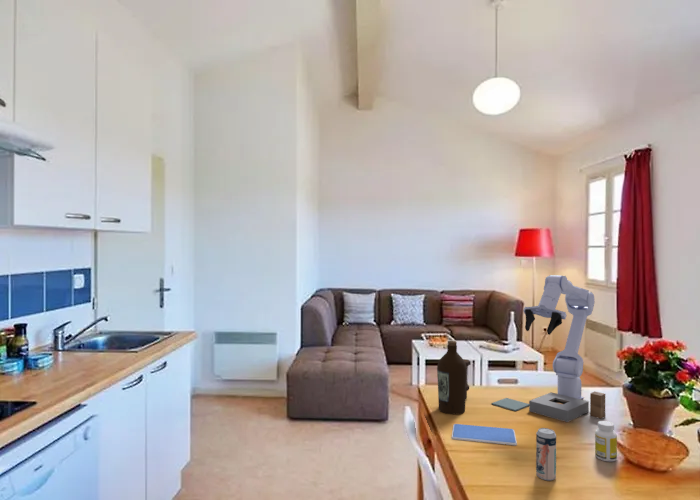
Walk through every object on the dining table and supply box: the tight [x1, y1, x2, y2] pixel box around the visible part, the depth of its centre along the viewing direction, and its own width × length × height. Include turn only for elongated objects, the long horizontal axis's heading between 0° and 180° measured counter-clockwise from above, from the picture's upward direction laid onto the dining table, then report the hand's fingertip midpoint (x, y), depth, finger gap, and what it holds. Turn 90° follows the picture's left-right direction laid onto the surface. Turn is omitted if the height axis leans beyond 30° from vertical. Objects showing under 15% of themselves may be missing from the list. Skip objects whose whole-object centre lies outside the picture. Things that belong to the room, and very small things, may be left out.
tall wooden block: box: [589, 391, 606, 420], centre depth 168 cm, size 4×4×8 cm
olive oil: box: [436, 340, 468, 415], centre depth 174 cm, size 11×11×25 cm
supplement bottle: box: [594, 420, 618, 462], centre depth 134 cm, size 5×5×10 cm
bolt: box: [462, 358, 472, 400], centre depth 187 cm, size 6×5×15 cm
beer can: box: [535, 427, 557, 482], centre depth 123 cm, size 5×5×12 cm
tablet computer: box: [450, 423, 518, 446], centre depth 151 cm, size 19×13×1 cm, turn 75°
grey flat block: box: [528, 391, 590, 423], centre depth 173 cm, size 16×14×4 cm
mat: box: [491, 397, 529, 412], centre depth 180 cm, size 10×10×1 cm
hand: (537, 331), depth 168 cm, fingers open, 7 cm apart
